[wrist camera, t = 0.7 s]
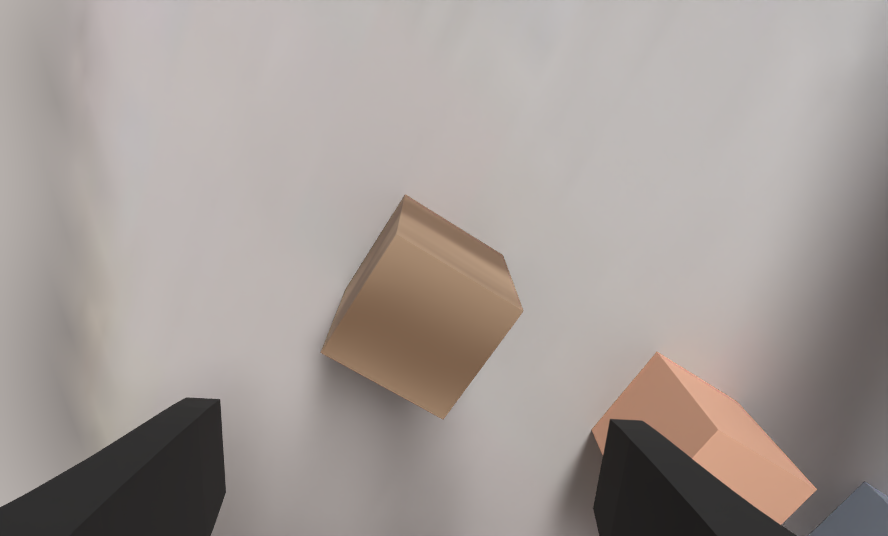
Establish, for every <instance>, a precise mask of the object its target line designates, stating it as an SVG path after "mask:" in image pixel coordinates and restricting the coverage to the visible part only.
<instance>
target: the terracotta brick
mask: <svg viewBox="0 0 888 536" xmlns="http://www.w3.org/2000/svg"><path fill="white" fill-rule="evenodd" d="M610 419H623V420H642V421H644V422H645V423H647V424H648V425H650V426H651V427H652V428H654V429H655V430H656V431H658V432H659V433H660V434H662V435H663V436H664V437H666V438H667V439H668V440H669V441H671V442H672V443H673V444H674V445H676V446H677V447H678V448H679V449H681V450H682V451H683V452H684V453H686V454H687V455H688V456H689V457H691V458H692V459H693V460H694V461H696V462H697V463H698V464H699V465H701V466H702V467H703V468H705V469H706V470H707V471H708V472H710V473H711V474H712V475H713V476H715V477H716V478H717V479H719V480H720V481H721V482H722V483H724V484H725V485H726V486H728V487H729V488H730V489H732V490H733V491H734V492H736V493H737V494H738V495H740V496H741V497H742V498H744V499H745V500H746V501H748V502H749V503H750V504H752V505H753V506H754V507H756V508H757V509H759V510H760V511H762V512H763V513H764V514H766V515H767V516H769V517H770V518H772V519H773V520H774V521H776V522H777V523H779V524H780V525H781V524H782V523H784V522H785V521H786V520H787V519H788V518H789V517H790V516H791V515H792V514H793V513H794V512H795V511H796V510H797V509H798V508H799V507H800V506H801V505H802V504H803V503H804V502H805V501H806V500H807V499H808V498H809V497H810V496H811V495H812V494H813V493H814V492H815V491H816V490H817V489H816V488H815V487H814V486H813V484H812V483H811V482H810V481H809V480H808V479H807V478H806V477H805V476H804V475H803V473H802V472H801V471H800V470H799V469H798V468H797V467H796V466H795V465H794V464H793V462H792V461H791V460H790V459H789V458H788V457H787V456H786V455H785V454H784V453H783V451H782V450H781V449H780V448H779V447H778V446H777V445H776V444H775V443H774V442H773V440H772V439H771V438H770V437H769V436H768V435H767V434H766V433H765V432H764V431H763V429H762V428H761V427H760V426H759V425H758V424H757V423H756V422H755V421H754V420H753V419H752V417H751V416H750V415H749V414H748V413H747V412H746V411H745V410H744V409H743V408H742V406H741V405H740V404H739V403H738V402H737V401H735V400H734V399H732V398H731V397H729V396H727V395H726V394H724V393H722V392H721V391H719V390H718V389H716V388H714V387H713V386H711V385H710V384H708V383H706V382H705V381H703V380H702V379H700V378H698V377H697V376H695V375H694V374H692V373H690V372H689V371H687V370H686V369H684V368H682V367H681V366H679V365H677V364H676V363H674V362H673V361H671V360H669V359H668V358H666V357H665V356H663V355H661V354H660V353H658V352H656V353H655V355H654V356H653V357H652V358H651V359H650V360H649V362H648V363H647V364H646V365H645V366H644V368H643V369H642V370H641V371H640V372H639V374H638V375H637V376H636V377H635V378H634V380H633V381H632V382H631V383H630V384H629V386H628V387H627V388H626V389H625V390H624V392H623V393H622V394H621V395H620V396H619V398H618V399H617V400H616V401H615V402H614V404H613V405H612V406H611V407H610V408H609V409H608V411H607V412H606V413H605V414H604V415H603V417H602V418H601V419H600V420H599V421H598V423H597V424H596V425H595V426H594V427H593V429H592V432H593V434H594V437H595V439H596V441H597V443H598V446H599V448H600V450H601V453H602V455H603V454H604V448H605V443H606V438H607V432H608V427H609V421H610Z"/></svg>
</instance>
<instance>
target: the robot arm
mask: <svg viewBox="0 0 888 536" xmlns="http://www.w3.org/2000/svg"><path fill="white" fill-rule="evenodd" d="M225 493H226V487H225V471H224V455H223V439H222V422H221V406H220V399H204V398H185V399H183V400H181V401H179V402H177V403H176V404H174V405H172V406H171V407H169V408H167V409H166V410H164V411H162V412H161V413H159V414H158V415H156V416H154V417H153V418H151V419H150V420H148V421H147V422H145V423H143V424H142V425H140V426H139V427H137V428H136V429H134V430H133V431H131V432H129V433H128V434H126V435H125V436H123V437H121V438H120V439H118V440H117V441H115V442H113V443H112V444H110V445H109V446H107V447H105V448H104V449H102V450H101V451H99V452H97V453H96V454H94V455H93V456H91V457H89V458H88V459H86V460H84V461H82V462H81V463H79V464H77V465H75V466H74V467H72V468H70V469H68V470H67V471H65V472H63V473H62V474H60V475H58V476H56V477H55V478H53V479H51V480H49V481H48V482H46V483H45V484H42V485H41V486H39V487H37V488H35V489H34V490H32V491H30V492H29V493H27V494H25V495H23V496H21V497H19V498H17V499H16V500H14V501H12V502H10V503H8V504H6V505H4V506H2V507H0V536H211V533H212V530H213V528H214V525H215V522H216V519H217V516H218V514H219V511H220V508H221V505H222V502H223V499H224V496H225ZM593 509H594V513H595V518H596V522H597V527H598V531H599V536H796V535H795V534H793V533H792V532H790V531H789V530H787V529H786V528H784V527H783V526H782V525H780V524H779V523H777V522H776V521H774V520H773V519H772V518H770V517H769V516H767V515H766V514H764V513H763V512H762V511H760V510H759V509H757V508H756V507H754V506H753V505H752V504H750V503H749V502H748V501H746V500H745V499H744V498H742V497H741V496H740V495H738V494H737V493H736V492H734V491H733V490H732V489H730V488H729V487H728V486H726V485H725V484H724V483H722V482H721V481H720V480H719V479H717V478H716V477H715V476H713V475H712V474H711V473H710V472H708V471H707V470H706V469H705V468H703V467H702V466H701V465H699V464H698V463H697V462H696V461H694V460H693V459H692V458H691V457H689V456H688V455H687V454H686V453H684V452H683V451H682V450H681V449H679V448H678V447H677V446H676V445H674V444H673V443H672V442H671V441H669V440H668V439H667V438H666V437H664V436H663V435H662V434H660V433H659V432H658V431H656V430H655V429H654V428H652V427H651V426H650V425H648V424H647V423H645V422H644V421H642V420H623V419H610V421H609V427H608V432H607V438H606V443H605V448H604V454H603V459H602V465H601V470H600V475H599V481H598V486H597V491H596V497H595V502H594V508H593Z"/></svg>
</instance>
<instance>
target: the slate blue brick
mask: <svg viewBox="0 0 888 536" xmlns="http://www.w3.org/2000/svg"><path fill="white" fill-rule="evenodd" d="M809 536H888V496H887V495H885V494H884V493H882V492H881V491H879V490H877V489H876V488H874V487H873V486H871V485H869V484H868V483H866V482H864V483H863V484H862V485H861V486H859V487H858V488H857V489H856V490H855V491H854V492H853V493H852V494H851V495H850V496H849V497H848V498H847V499H846V500H845V501H844V502H843V503H842V504H841V505H840V506H839V507H838V508H837V509H836V510H835V511H833V512H832V513H831V514H830V515H829V516H828V517H827V518H826V519H825V520H824V521H823V522H822V523H821V524H820V525H819V526H818V527H817V528H816V529H815V530H814V531H813V532H812V533H811V534H810V535H809Z"/></svg>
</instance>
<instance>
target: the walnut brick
mask: <svg viewBox="0 0 888 536" xmlns="http://www.w3.org/2000/svg"><path fill="white" fill-rule="evenodd" d="M522 312H523V308H522V306H521V303H520V300H519V297H518V295H517V292H516V289H515V287H514V284H513V281H512V278H511V276H510V273H509V270H508V268H507V265H506V262H505V260H504V257H503V255H502V254H500V253H499V252H497V251H495V250H494V249H492V248H491V247H489V246H487V245H486V244H484V243H483V242H481V241H479V240H478V239H476V238H474V237H473V236H471V235H470V234H468V233H466V232H465V231H463V230H462V229H460V228H458V227H457V226H455V225H454V224H452V223H450V222H449V221H447V220H446V219H444V218H442V217H441V216H439V215H438V214H436V213H434V212H433V211H431V210H429V209H428V208H426V207H425V206H423V205H421V204H420V203H418V202H417V201H415V200H413V199H412V198H410V197H409V196H407V195H404V197H403V199H402V200H401V202H400V203H399V205H398V207H397V208H396V210H395V211H394V213H393V215H392V216H391V218H390V219H389V221H388V222H387V224H386V226H385V227H384V229H383V230H382V232H381V234H380V235H379V237H378V238H377V240H376V242H375V243H374V245H373V246H372V248H371V249H370V251H369V253H368V254H367V256H366V257H365V259H364V261H363V262H362V264H361V265H360V267H359V269H358V270H357V272H356V273H355V275H354V276H353V278H352V280H351V281H350V283H349V284H348V286H347V288H346V290H345V292H344V295H343V297H342V300H341V302H340V305H339V307H338V310H337V312H336V315H335V317H334V320H333V322H332V325H331V328H330V330H329V333H328V335H327V338H326V340H325V343H324V345H323V348H322V350H321V353H322V354H324V355H326V356H327V357H329V358H331V359H333V360H335V361H337V362H338V363H340V364H342V365H344V366H346V367H348V368H349V369H351V370H353V371H355V372H357V373H359V374H360V375H362V376H364V377H366V378H368V379H370V380H371V381H373V382H375V383H377V384H379V385H381V386H382V387H384V388H386V389H388V390H390V391H392V392H393V393H395V394H397V395H399V396H401V397H403V398H404V399H406V400H408V401H410V402H412V403H414V404H415V405H417V406H419V407H421V408H423V409H425V410H426V411H428V412H430V413H432V414H434V415H436V416H437V417H439V418H441V419H444V418H445V416H446V415H447V414H448V412H449V411H450V410H451V408H452V407H453V406H454V404H455V403H456V402H457V400H458V399H459V398H460V396H461V395H462V393H463V392H464V391H465V389H466V388H467V387H468V385H469V384H470V383H471V381H472V380H473V379H474V377H475V376H476V375H477V373H478V372H479V371H480V369H481V368H482V366H483V365H484V364H485V362H486V361H487V360H488V358H489V357H490V356H491V354H492V353H493V352H494V350H495V349H496V348H497V346H498V345H499V344H500V342H501V341H502V339H503V338H504V337H505V335H506V334H507V333H508V331H509V330H510V329H511V327H512V326H513V325H514V323H515V322H516V321H517V319H518V318H519V317H520V315H521V314H522Z"/></svg>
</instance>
